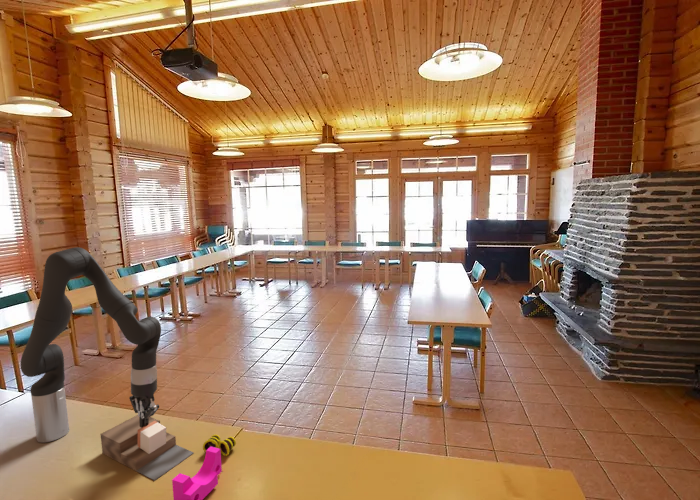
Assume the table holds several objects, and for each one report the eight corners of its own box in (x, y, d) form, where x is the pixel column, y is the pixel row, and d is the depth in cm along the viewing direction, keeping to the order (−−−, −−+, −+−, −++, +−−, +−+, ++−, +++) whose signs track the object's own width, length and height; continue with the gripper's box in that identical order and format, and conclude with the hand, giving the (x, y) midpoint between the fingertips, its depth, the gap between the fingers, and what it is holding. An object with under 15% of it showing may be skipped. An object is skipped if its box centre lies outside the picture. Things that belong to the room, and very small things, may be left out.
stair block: (102, 453, 123) (100, 434, 122) (142, 430, 135) (140, 413, 135) (154, 480, 110) (152, 459, 109) (193, 453, 122) (192, 433, 121)
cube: (137, 430, 119) (149, 437, 116) (154, 420, 124) (166, 427, 121) (137, 446, 120) (148, 454, 117) (154, 436, 125) (165, 443, 122)
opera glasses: (237, 448, 125) (236, 434, 124) (228, 458, 120) (228, 444, 119) (212, 444, 127) (211, 431, 126) (202, 454, 122) (201, 440, 121)
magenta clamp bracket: (191, 510, 99) (189, 485, 98) (174, 504, 101) (172, 479, 100) (228, 473, 113) (226, 450, 112) (212, 468, 115) (210, 446, 114)
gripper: (120, 376, 119) (120, 425, 122) (145, 389, 113) (145, 440, 116) (142, 368, 126) (142, 414, 128) (167, 379, 120) (167, 427, 122)
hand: (144, 426), depth 122 cm, fingers closed
